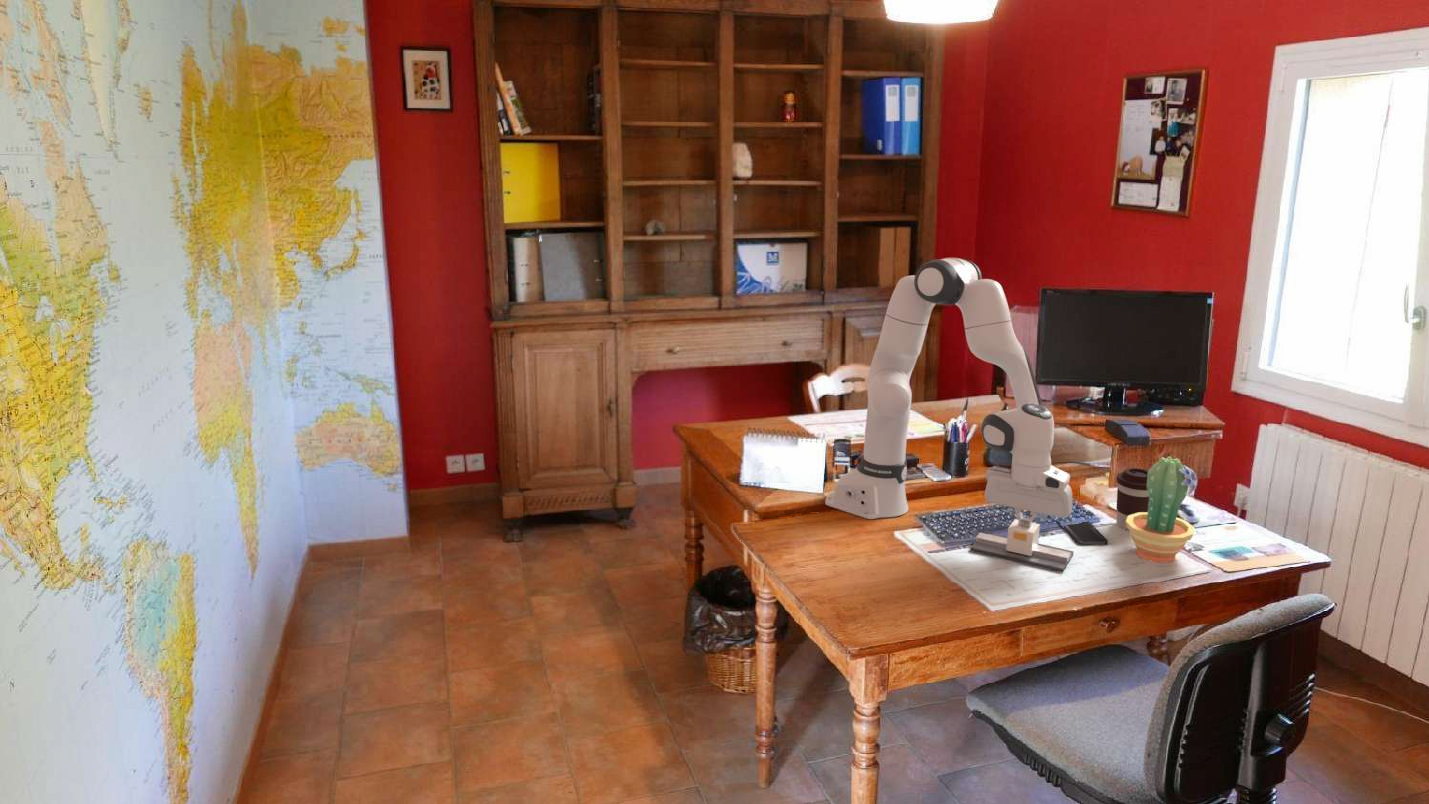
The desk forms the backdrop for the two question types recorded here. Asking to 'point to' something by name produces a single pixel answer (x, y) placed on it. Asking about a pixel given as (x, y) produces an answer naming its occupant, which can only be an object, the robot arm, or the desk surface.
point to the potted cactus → (1163, 512)
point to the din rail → (1040, 556)
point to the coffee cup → (1131, 494)
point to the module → (1022, 538)
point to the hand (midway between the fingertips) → (1025, 525)
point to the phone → (1085, 534)
